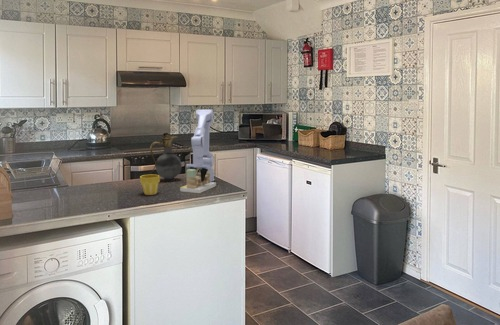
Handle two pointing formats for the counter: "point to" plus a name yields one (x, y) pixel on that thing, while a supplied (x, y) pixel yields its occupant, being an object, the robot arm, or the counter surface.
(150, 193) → the plant pot
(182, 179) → the counter surface
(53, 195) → the counter surface
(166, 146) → the pitcher
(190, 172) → the block
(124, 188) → the counter surface
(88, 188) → the counter surface
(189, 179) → the tan wooden bar
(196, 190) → the dock
